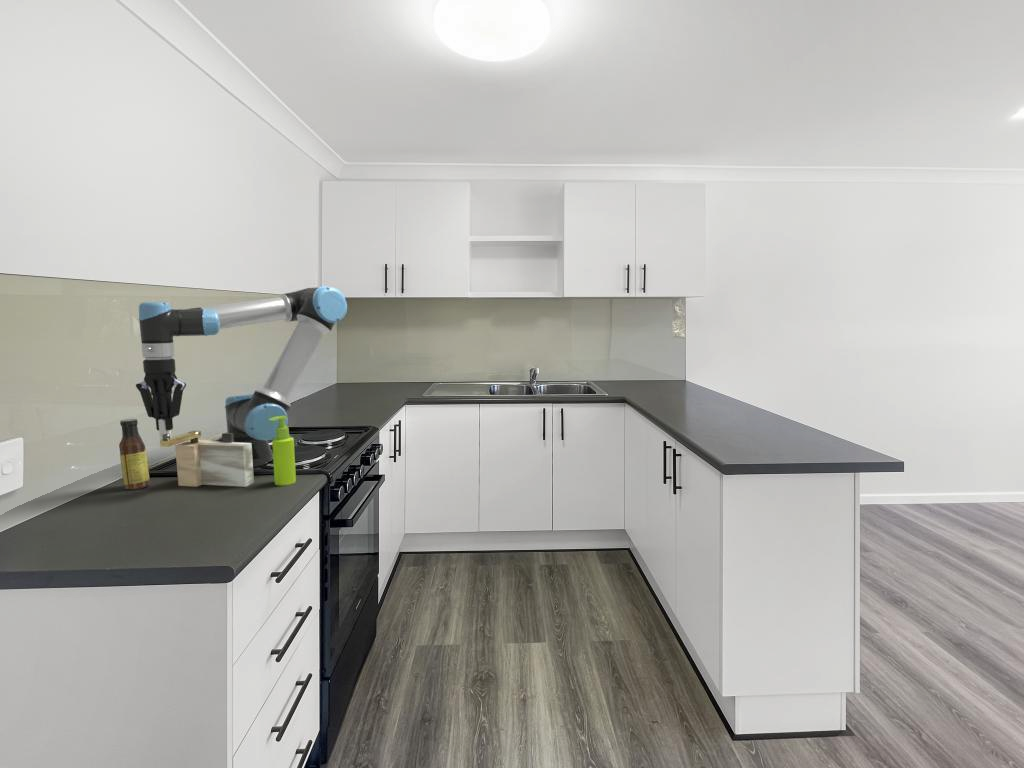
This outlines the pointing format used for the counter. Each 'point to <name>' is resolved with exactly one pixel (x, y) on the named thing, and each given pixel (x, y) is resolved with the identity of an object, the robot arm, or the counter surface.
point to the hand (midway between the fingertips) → (165, 441)
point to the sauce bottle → (133, 456)
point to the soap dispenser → (283, 454)
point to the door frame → (214, 462)
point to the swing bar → (178, 438)
